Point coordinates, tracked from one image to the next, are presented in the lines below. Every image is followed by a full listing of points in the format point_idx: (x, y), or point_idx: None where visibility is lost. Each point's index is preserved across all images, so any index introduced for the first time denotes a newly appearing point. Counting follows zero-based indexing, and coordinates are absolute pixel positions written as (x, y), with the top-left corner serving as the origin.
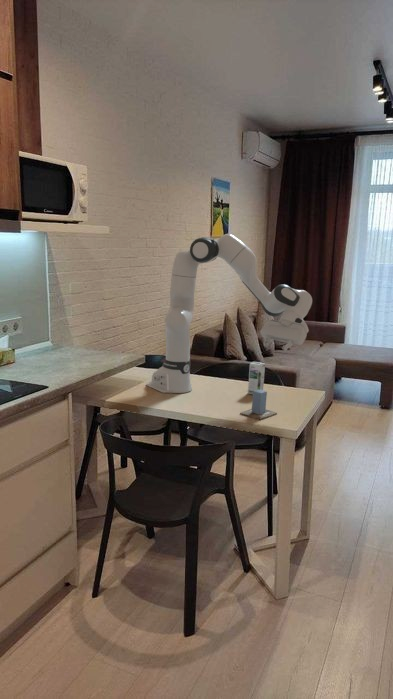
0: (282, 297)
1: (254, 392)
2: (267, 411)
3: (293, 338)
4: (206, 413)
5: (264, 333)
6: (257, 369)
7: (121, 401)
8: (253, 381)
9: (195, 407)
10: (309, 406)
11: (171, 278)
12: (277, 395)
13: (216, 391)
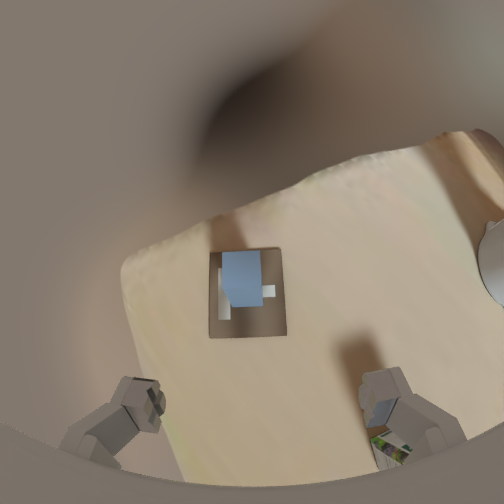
0: None
1: (253, 252)
2: (236, 323)
3: (25, 442)
4: (334, 192)
5: (494, 429)
6: None
7: (453, 139)
8: None
9: (382, 203)
10: (190, 475)
11: None
12: None
13: (462, 348)
